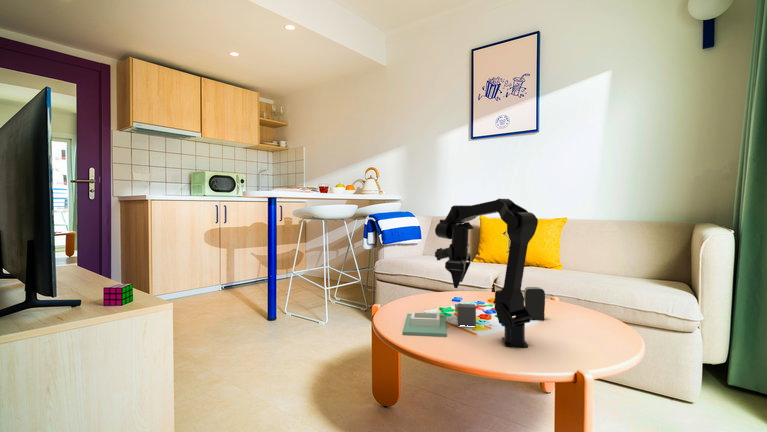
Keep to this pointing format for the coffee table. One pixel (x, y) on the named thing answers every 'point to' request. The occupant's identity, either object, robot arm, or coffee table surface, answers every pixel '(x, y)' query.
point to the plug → (466, 314)
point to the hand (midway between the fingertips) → (458, 284)
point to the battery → (535, 302)
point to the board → (425, 324)
